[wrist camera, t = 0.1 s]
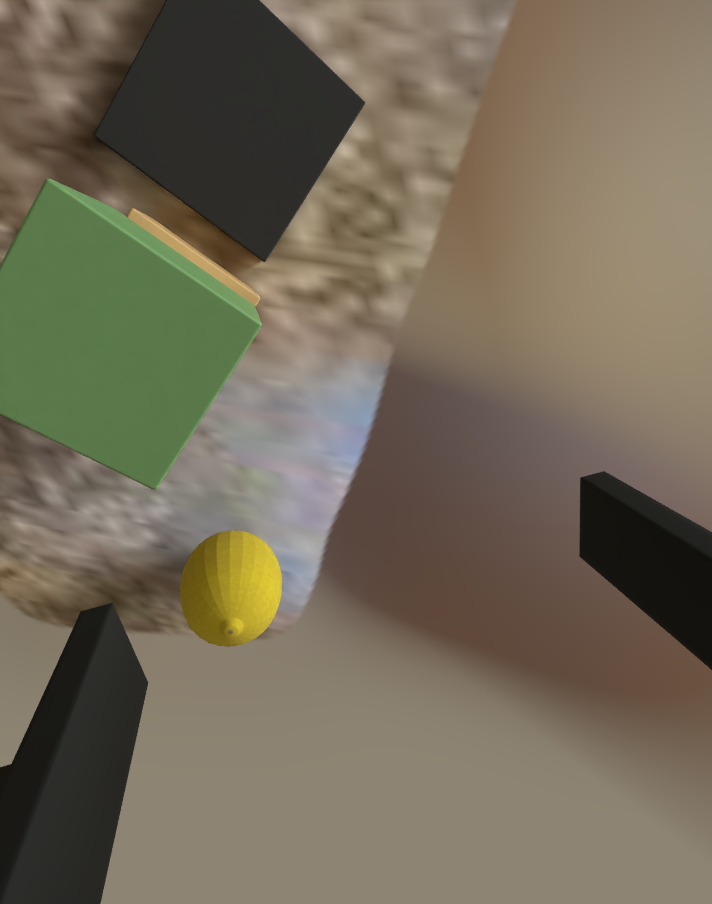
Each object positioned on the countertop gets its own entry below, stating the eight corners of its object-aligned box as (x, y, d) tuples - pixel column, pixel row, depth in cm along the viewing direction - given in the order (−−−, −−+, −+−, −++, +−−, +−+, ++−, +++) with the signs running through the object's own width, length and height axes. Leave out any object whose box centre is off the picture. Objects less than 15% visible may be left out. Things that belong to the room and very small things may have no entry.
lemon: (287, 518, 32) (302, 595, 24) (262, 590, 33) (269, 683, 26) (199, 499, 30) (187, 575, 23) (177, 576, 31) (158, 670, 24)
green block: (111, 205, 16) (45, 175, 11) (255, 306, 18) (263, 324, 13) (33, 346, 17) (-64, 384, 12) (179, 426, 19) (155, 491, 14)
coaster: (198, -52, 21) (197, -60, 21) (363, 105, 25) (365, 102, 24) (96, 138, 23) (93, 135, 22) (264, 262, 26) (265, 262, 26)
